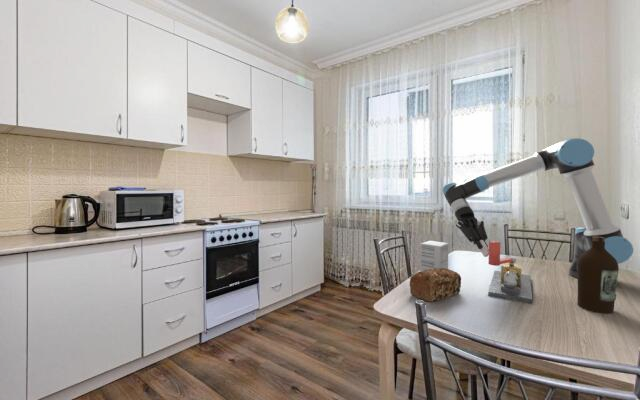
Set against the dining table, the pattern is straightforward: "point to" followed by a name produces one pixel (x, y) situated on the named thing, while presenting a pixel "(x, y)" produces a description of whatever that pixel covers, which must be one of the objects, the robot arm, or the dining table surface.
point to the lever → (497, 254)
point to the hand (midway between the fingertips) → (487, 254)
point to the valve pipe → (511, 283)
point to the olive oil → (597, 278)
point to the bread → (435, 284)
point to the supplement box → (433, 255)
